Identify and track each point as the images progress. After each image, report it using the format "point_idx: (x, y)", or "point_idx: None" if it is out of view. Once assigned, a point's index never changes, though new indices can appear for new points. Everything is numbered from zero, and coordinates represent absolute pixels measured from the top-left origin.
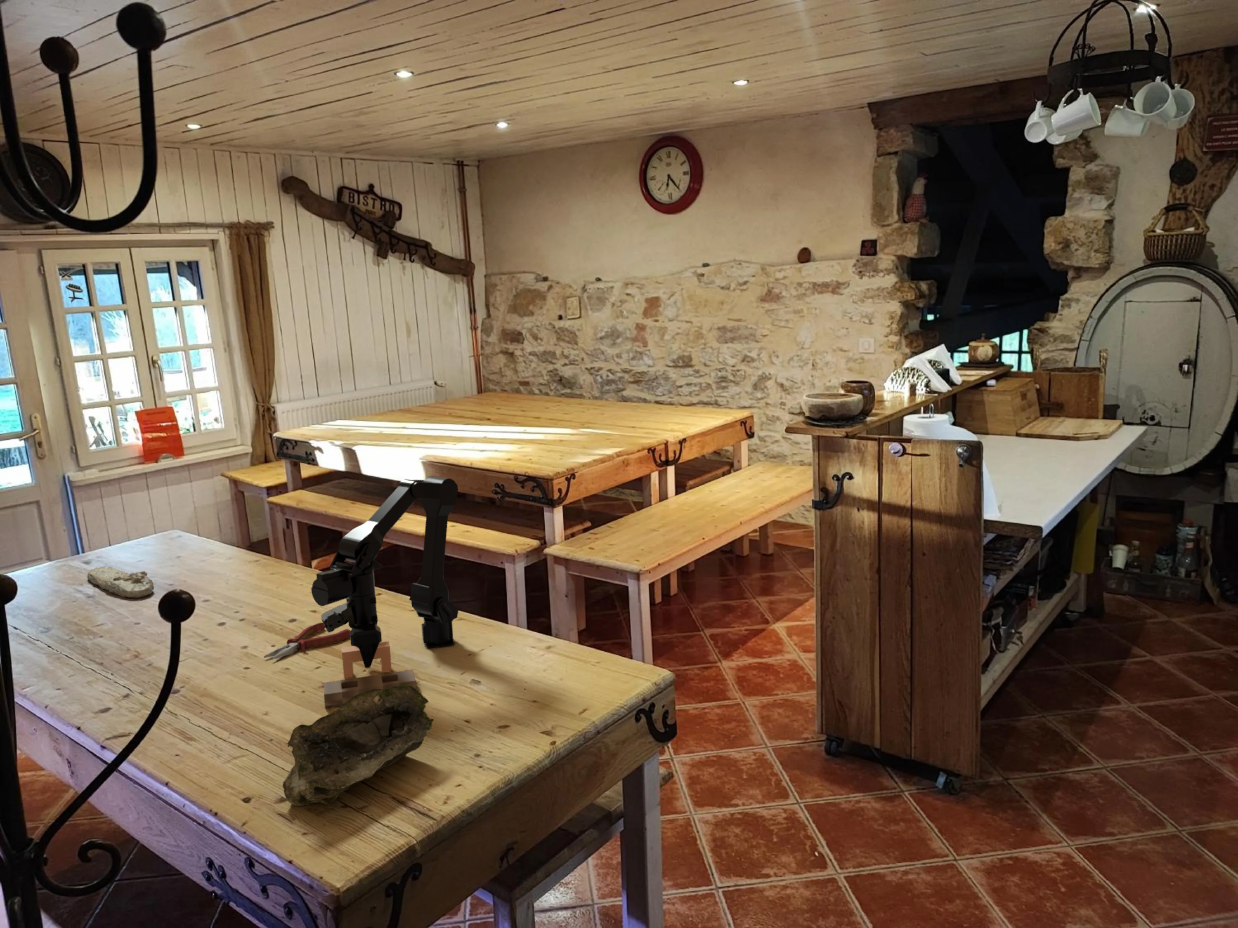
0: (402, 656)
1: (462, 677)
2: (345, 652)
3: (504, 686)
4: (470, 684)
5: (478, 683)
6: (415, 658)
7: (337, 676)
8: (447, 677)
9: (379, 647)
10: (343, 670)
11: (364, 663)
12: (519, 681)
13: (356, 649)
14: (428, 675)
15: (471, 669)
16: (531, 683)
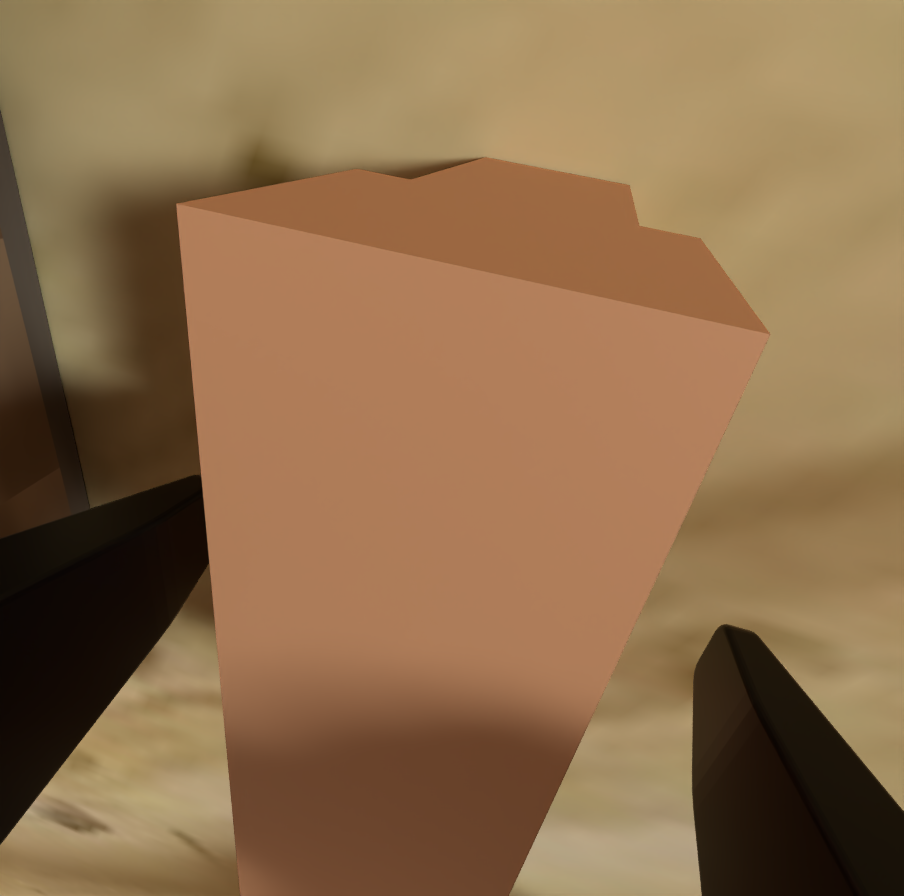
0: (691, 812)
1: (136, 817)
2: (188, 332)
3: (8, 844)
4: (46, 795)
5: (52, 815)
6: (569, 835)
7: (618, 62)
8: (155, 784)
9: (239, 877)
10: (459, 168)
11: (123, 505)
12: (49, 887)
13: (297, 633)
14: (216, 746)
15: (225, 879)
16: (25, 892)
